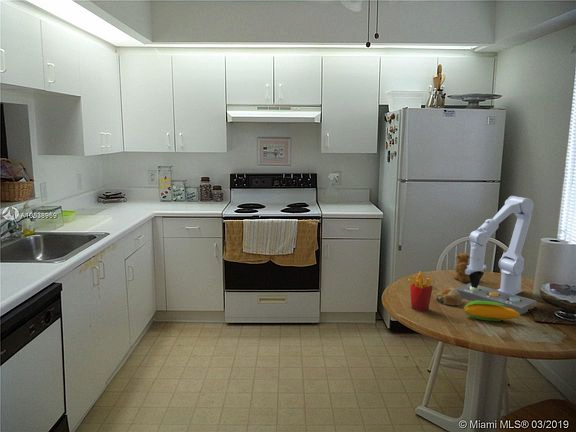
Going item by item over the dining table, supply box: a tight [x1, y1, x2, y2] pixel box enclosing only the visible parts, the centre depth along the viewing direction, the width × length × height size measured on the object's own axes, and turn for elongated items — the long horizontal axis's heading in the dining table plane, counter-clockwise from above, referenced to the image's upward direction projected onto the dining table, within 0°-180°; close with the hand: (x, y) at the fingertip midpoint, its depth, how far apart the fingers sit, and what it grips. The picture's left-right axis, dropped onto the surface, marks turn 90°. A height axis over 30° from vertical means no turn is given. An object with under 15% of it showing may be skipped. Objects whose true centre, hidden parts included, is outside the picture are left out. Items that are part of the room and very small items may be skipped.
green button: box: [469, 286, 479, 292], centre depth 212 cm, size 4×4×3 cm
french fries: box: [407, 271, 434, 312], centre depth 194 cm, size 9×8×15 cm
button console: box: [453, 282, 538, 316], centre depth 205 cm, size 14×30×3 cm, turn 39°
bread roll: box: [436, 287, 462, 306], centre depth 203 cm, size 10×10×8 cm
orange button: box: [489, 292, 499, 297], centre depth 205 cm, size 4×4×3 cm
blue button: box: [509, 297, 520, 303], centre depth 198 cm, size 4×4×3 cm
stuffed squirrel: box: [451, 252, 471, 283], centre depth 235 cm, size 10×14×13 cm
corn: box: [463, 300, 521, 322], centre depth 184 cm, size 7×8×20 cm
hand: (474, 287), depth 212 cm, fingers closed, pressing on green button
